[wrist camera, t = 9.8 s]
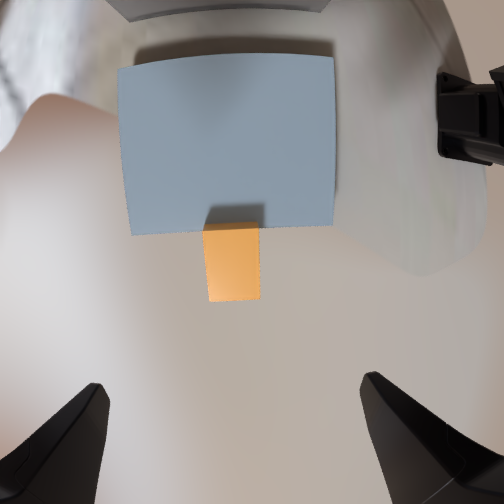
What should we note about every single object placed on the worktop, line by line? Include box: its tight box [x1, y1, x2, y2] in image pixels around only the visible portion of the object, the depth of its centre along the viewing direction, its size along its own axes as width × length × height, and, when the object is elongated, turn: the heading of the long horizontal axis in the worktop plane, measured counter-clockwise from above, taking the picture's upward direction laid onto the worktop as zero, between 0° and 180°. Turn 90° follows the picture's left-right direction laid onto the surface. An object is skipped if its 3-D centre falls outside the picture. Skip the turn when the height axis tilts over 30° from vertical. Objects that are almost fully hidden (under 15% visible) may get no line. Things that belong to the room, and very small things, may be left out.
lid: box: [118, 53, 336, 302], centre depth 16 cm, size 12×14×3 cm
